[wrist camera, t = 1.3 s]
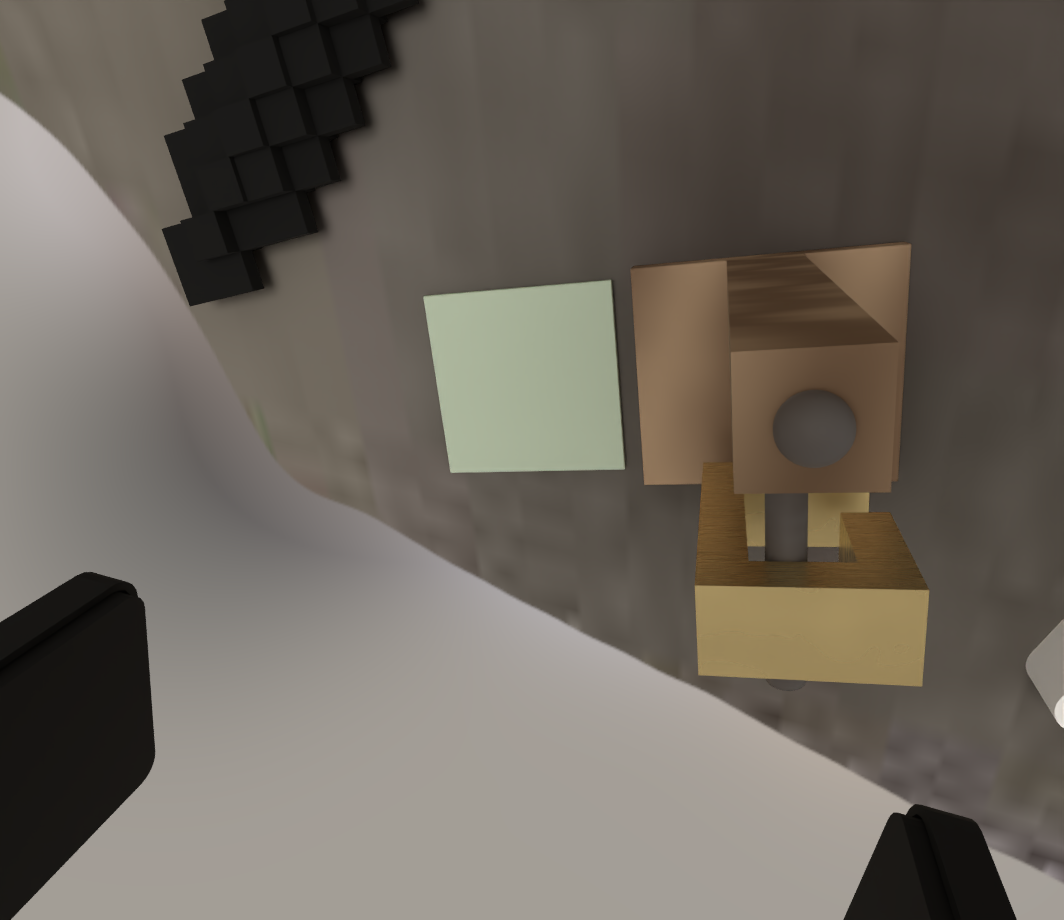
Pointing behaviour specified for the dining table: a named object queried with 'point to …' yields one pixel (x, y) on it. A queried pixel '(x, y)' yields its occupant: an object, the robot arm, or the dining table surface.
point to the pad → (528, 377)
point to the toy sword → (266, 130)
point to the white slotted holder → (1050, 671)
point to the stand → (775, 377)
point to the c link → (806, 593)
